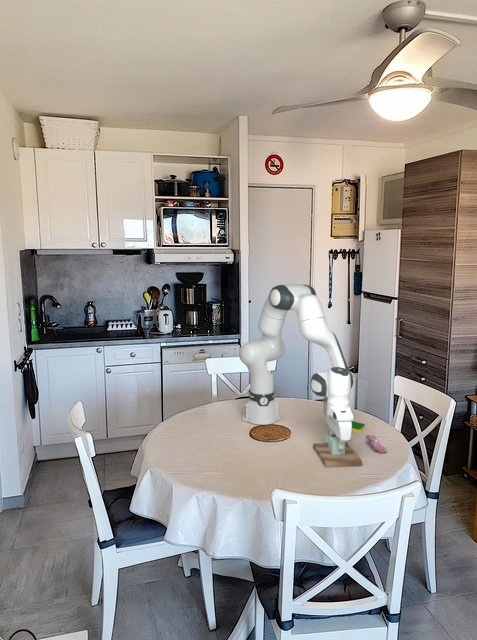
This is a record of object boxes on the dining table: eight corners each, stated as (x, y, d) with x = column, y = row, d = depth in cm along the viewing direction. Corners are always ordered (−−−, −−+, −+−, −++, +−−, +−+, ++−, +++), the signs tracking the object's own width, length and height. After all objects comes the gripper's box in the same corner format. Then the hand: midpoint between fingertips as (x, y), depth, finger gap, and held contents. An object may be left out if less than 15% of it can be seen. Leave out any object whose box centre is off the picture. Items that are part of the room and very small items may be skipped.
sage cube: (328, 449, 192) (328, 437, 191) (340, 448, 192) (341, 436, 192) (332, 454, 187) (332, 442, 186) (344, 454, 187) (345, 441, 187)
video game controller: (368, 447, 202) (361, 434, 201) (378, 442, 202) (371, 428, 201) (377, 458, 192) (371, 443, 191) (387, 452, 193) (381, 438, 191)
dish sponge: (336, 422, 228) (336, 417, 227) (364, 428, 220) (365, 423, 220) (330, 427, 222) (330, 422, 222) (359, 433, 214) (359, 428, 214)
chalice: (337, 444, 202) (338, 403, 199) (320, 442, 203) (322, 401, 200) (337, 437, 209) (338, 397, 206) (321, 436, 210) (322, 396, 207)
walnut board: (313, 447, 198) (313, 443, 198) (346, 446, 199) (346, 441, 199) (325, 467, 180) (326, 462, 180) (361, 466, 182) (362, 461, 181)
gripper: (322, 401, 197) (321, 433, 199) (338, 418, 177) (337, 454, 179) (337, 400, 197) (336, 432, 200) (355, 418, 177) (353, 453, 179)
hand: (336, 443), depth 189 cm, fingers open, 8 cm apart
